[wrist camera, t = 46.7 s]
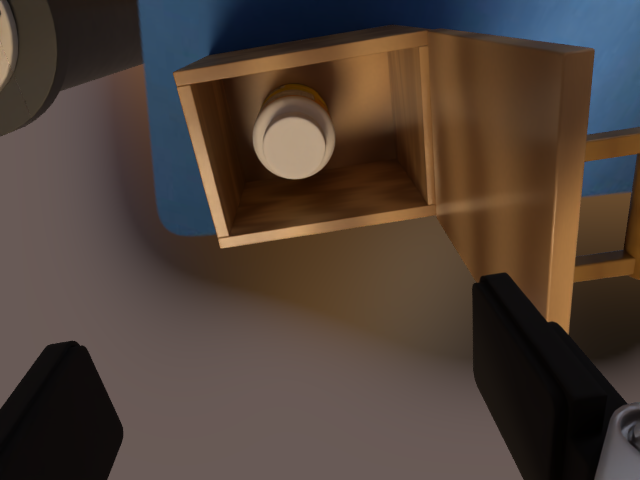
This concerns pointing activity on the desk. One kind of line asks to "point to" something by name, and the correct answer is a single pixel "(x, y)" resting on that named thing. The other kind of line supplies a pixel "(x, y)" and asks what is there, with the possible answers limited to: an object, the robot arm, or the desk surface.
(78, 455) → the robot arm
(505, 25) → the desk surface
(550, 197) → the lid
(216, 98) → the chest
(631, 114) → the desk surface
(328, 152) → the supplement bottle
